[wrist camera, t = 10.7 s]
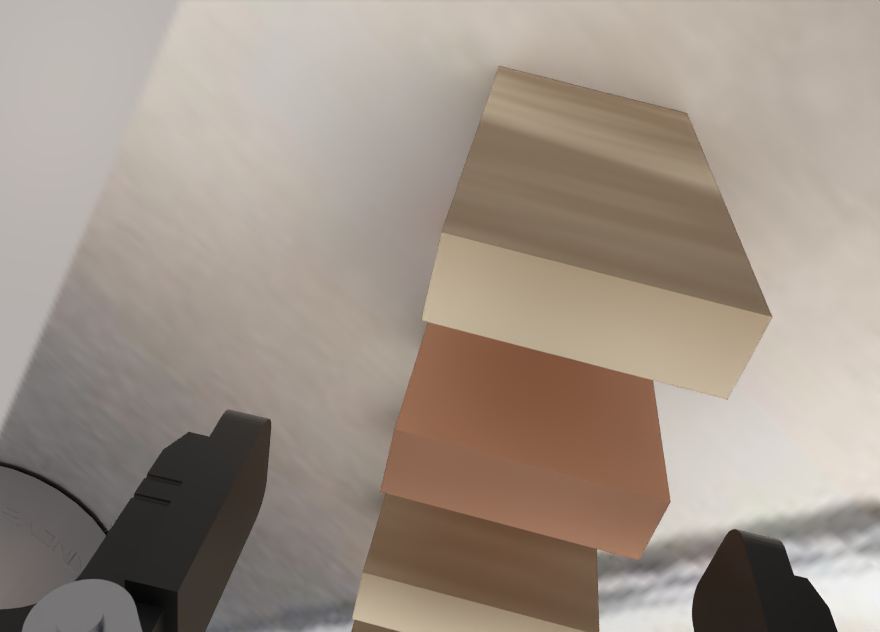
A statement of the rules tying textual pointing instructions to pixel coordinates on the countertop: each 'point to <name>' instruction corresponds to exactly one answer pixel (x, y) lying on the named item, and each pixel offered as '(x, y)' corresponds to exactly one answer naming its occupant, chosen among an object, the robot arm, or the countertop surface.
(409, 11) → the countertop surface
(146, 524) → the robot arm
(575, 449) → the domino
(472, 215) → the domino
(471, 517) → the domino
